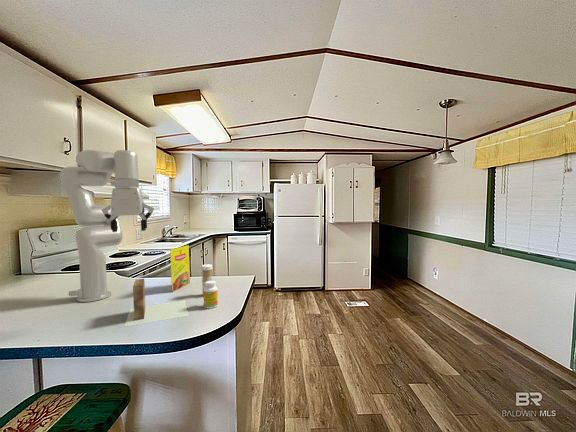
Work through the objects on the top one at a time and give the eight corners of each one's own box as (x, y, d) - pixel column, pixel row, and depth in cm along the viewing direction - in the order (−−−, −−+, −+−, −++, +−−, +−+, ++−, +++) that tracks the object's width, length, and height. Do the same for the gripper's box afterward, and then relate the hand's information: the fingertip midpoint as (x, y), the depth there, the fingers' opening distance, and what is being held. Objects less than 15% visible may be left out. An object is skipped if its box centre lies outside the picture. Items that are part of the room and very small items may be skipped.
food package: (172, 292, 128) (171, 249, 127) (170, 292, 128) (169, 249, 128) (190, 283, 143) (189, 244, 142) (188, 283, 143) (187, 244, 143)
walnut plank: (134, 320, 96) (132, 286, 95) (136, 310, 105) (135, 279, 104) (144, 318, 97) (142, 285, 97) (145, 309, 106) (144, 278, 106)
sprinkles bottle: (200, 295, 123) (199, 265, 123) (209, 292, 127) (208, 263, 126) (206, 297, 120) (205, 266, 120) (215, 294, 124) (214, 264, 123)
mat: (124, 327, 91) (124, 326, 91) (130, 309, 107) (130, 308, 107) (188, 316, 99) (188, 315, 99) (184, 301, 116) (184, 300, 116)
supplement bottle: (205, 309, 106) (204, 284, 106) (202, 305, 111) (202, 281, 110) (219, 307, 108) (218, 282, 108) (216, 302, 113) (215, 279, 113)
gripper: (96, 184, 96) (98, 233, 97) (149, 183, 100) (151, 230, 100) (105, 186, 103) (107, 231, 104) (155, 185, 107) (157, 229, 107)
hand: (129, 231), depth 102 cm, fingers open, 9 cm apart
